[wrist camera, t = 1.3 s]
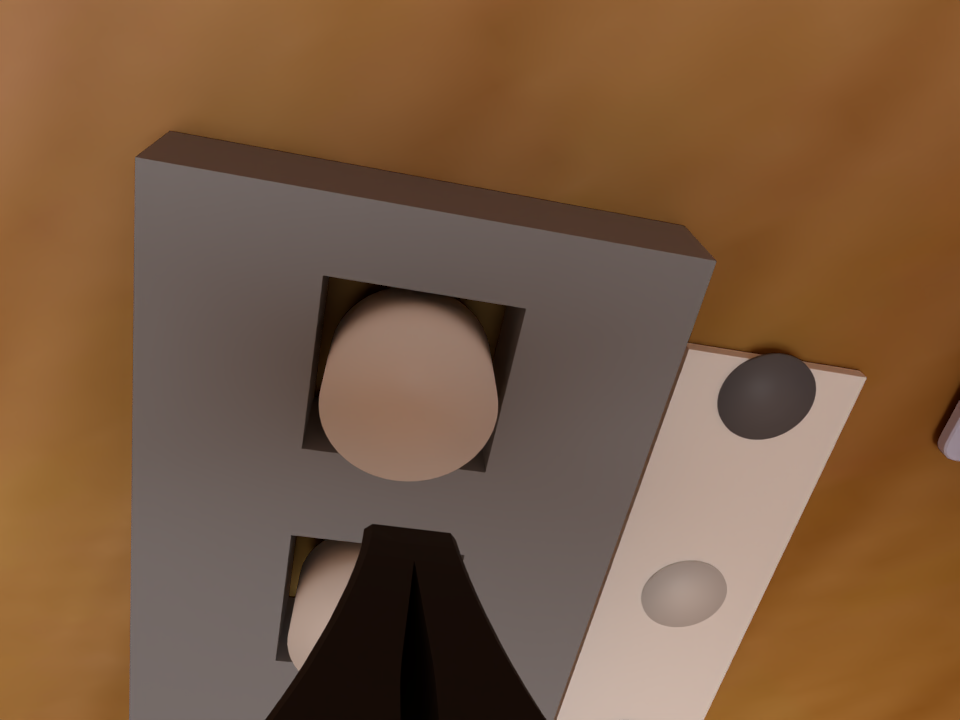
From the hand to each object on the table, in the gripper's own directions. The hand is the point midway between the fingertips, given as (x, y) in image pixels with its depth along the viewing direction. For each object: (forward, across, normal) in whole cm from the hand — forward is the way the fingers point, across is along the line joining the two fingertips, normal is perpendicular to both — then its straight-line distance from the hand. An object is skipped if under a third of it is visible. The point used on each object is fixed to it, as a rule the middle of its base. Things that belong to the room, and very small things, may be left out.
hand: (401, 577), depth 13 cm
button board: (+9, 0, +7) cm, 11 cm away
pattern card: (+9, -10, +7) cm, 15 cm away
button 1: (+7, 0, 0) cm, 7 cm away
